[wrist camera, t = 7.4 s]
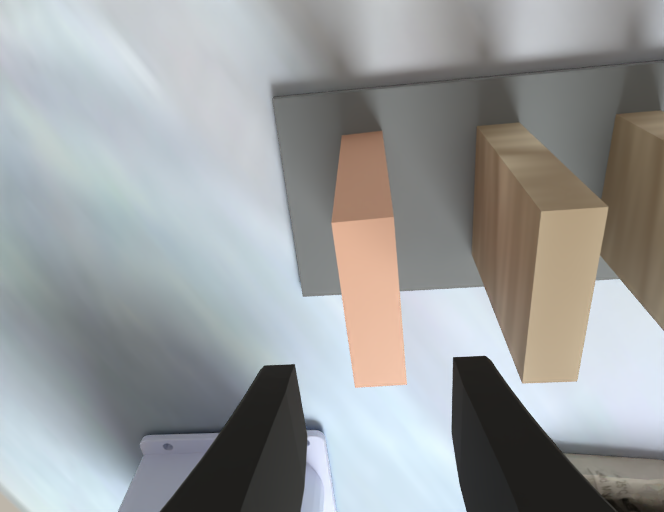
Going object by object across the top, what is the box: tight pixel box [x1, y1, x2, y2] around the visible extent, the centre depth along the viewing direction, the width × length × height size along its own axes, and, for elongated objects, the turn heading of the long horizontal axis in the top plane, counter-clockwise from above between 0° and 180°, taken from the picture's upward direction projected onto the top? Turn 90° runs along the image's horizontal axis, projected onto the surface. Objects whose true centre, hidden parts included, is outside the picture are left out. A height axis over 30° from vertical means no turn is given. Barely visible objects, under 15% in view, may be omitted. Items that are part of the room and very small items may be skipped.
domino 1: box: [331, 131, 407, 388], centre depth 15 cm, size 1×5×7 cm, turn 8°
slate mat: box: [272, 60, 664, 297], centre depth 18 cm, size 24×8×1 cm, turn 96°
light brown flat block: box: [472, 122, 609, 383], centre depth 15 cm, size 1×5×7 cm, turn 6°
